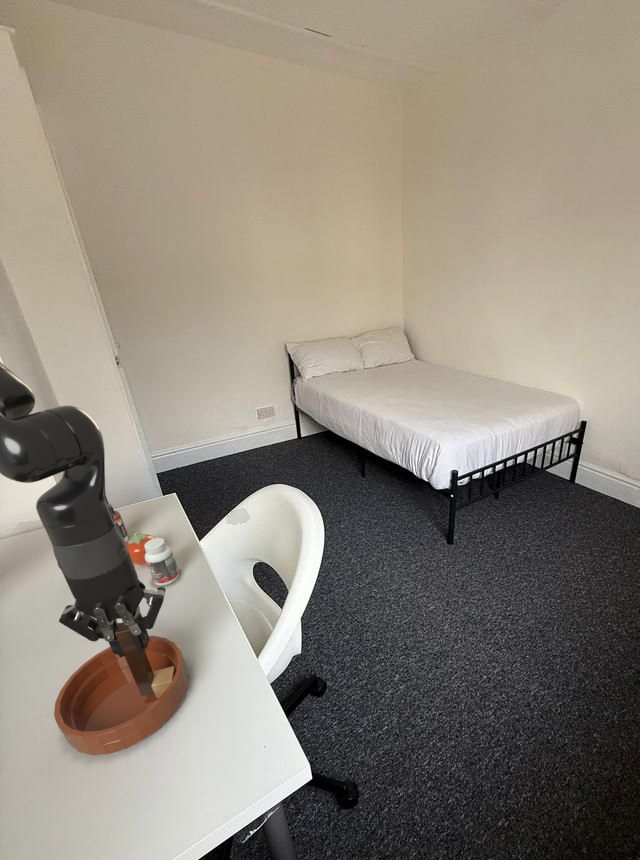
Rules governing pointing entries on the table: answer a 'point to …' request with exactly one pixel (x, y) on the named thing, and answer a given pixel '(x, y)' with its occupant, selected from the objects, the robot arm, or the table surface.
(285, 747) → the table surface
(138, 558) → the tomato
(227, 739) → the table surface
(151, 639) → the bowl
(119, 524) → the supplement bottle
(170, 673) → the block
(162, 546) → the pill bottle
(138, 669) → the stick
